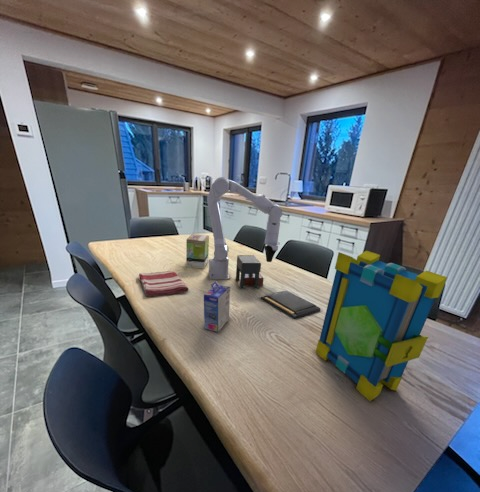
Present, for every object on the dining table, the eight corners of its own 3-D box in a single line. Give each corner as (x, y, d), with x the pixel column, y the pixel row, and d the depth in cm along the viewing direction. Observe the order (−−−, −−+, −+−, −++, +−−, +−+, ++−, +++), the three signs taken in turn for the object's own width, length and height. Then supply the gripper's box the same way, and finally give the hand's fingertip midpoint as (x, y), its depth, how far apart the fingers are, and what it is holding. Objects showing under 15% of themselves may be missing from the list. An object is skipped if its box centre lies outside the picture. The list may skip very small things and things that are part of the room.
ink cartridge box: (215, 315, 94) (216, 277, 87) (229, 318, 92) (231, 280, 86) (202, 328, 85) (202, 287, 79) (218, 332, 84) (220, 290, 77)
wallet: (322, 306, 102) (294, 314, 94) (321, 310, 103) (293, 319, 95) (287, 288, 117) (260, 294, 109) (286, 291, 118) (259, 298, 110)
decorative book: (366, 407, 60) (413, 284, 47) (305, 349, 78) (326, 250, 65) (408, 391, 65) (460, 278, 52) (341, 341, 84) (368, 248, 71)
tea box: (205, 268, 138) (205, 240, 132) (185, 267, 138) (185, 239, 132) (208, 260, 152) (209, 234, 145) (191, 259, 152) (191, 233, 145)
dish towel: (146, 297, 103) (146, 291, 102) (138, 277, 121) (137, 271, 120) (188, 292, 110) (188, 286, 109) (174, 273, 129) (174, 268, 127)
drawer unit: (240, 288, 117) (242, 262, 112) (235, 279, 128) (237, 254, 123) (261, 288, 119) (264, 262, 114) (254, 279, 130) (257, 255, 125)
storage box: (243, 286, 120) (244, 278, 119) (241, 281, 126) (241, 273, 124) (262, 286, 122) (263, 277, 120) (259, 281, 127) (260, 273, 126)
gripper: (286, 236, 114) (281, 266, 120) (276, 229, 127) (272, 257, 133) (270, 235, 113) (266, 266, 119) (261, 229, 126) (259, 257, 132)
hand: (268, 261), depth 126 cm, fingers closed
